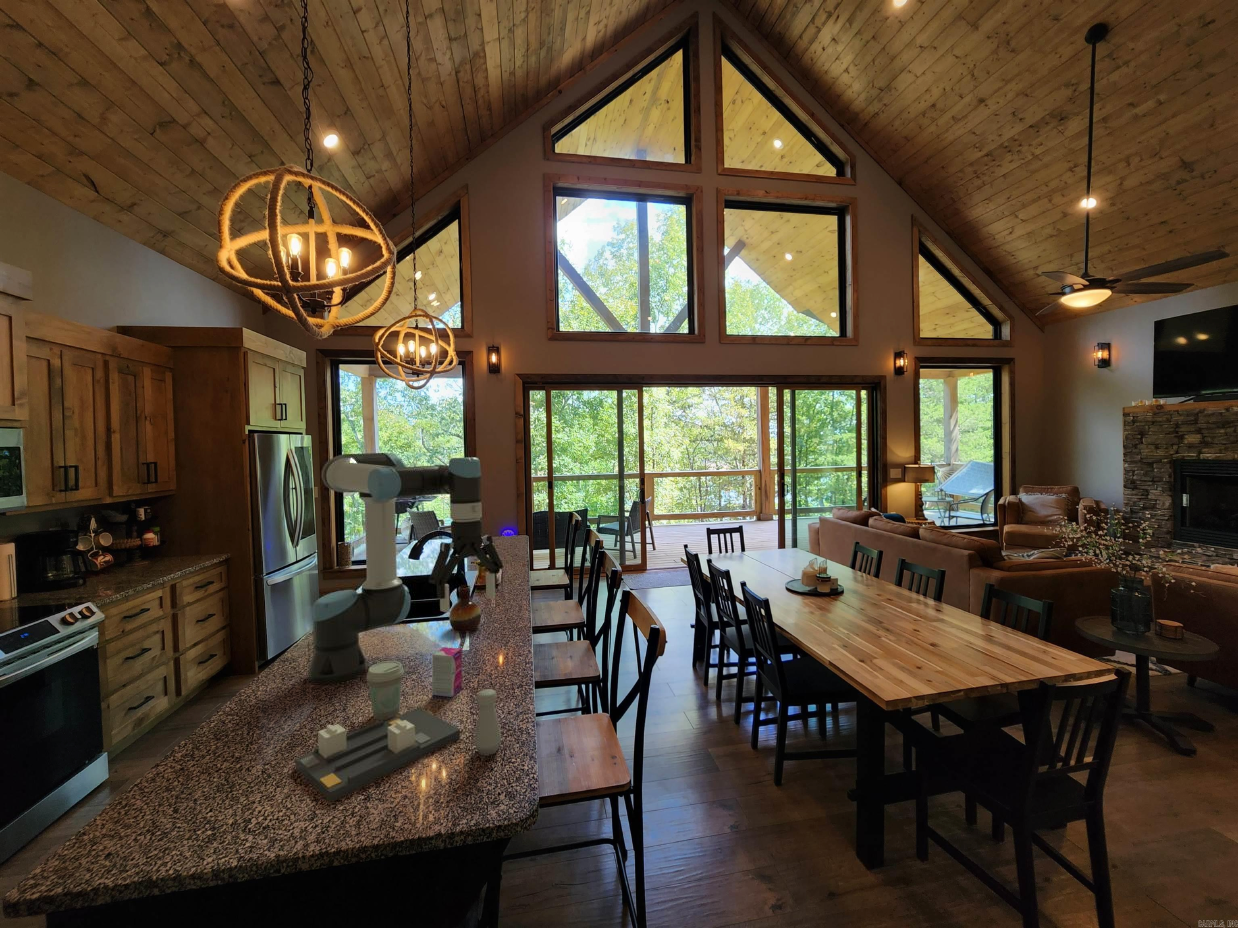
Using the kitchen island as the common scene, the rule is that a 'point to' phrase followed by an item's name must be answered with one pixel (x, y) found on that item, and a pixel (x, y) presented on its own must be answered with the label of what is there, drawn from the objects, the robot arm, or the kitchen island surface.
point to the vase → (465, 612)
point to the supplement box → (447, 672)
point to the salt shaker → (487, 723)
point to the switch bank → (373, 754)
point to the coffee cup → (385, 688)
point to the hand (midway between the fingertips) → (468, 604)
